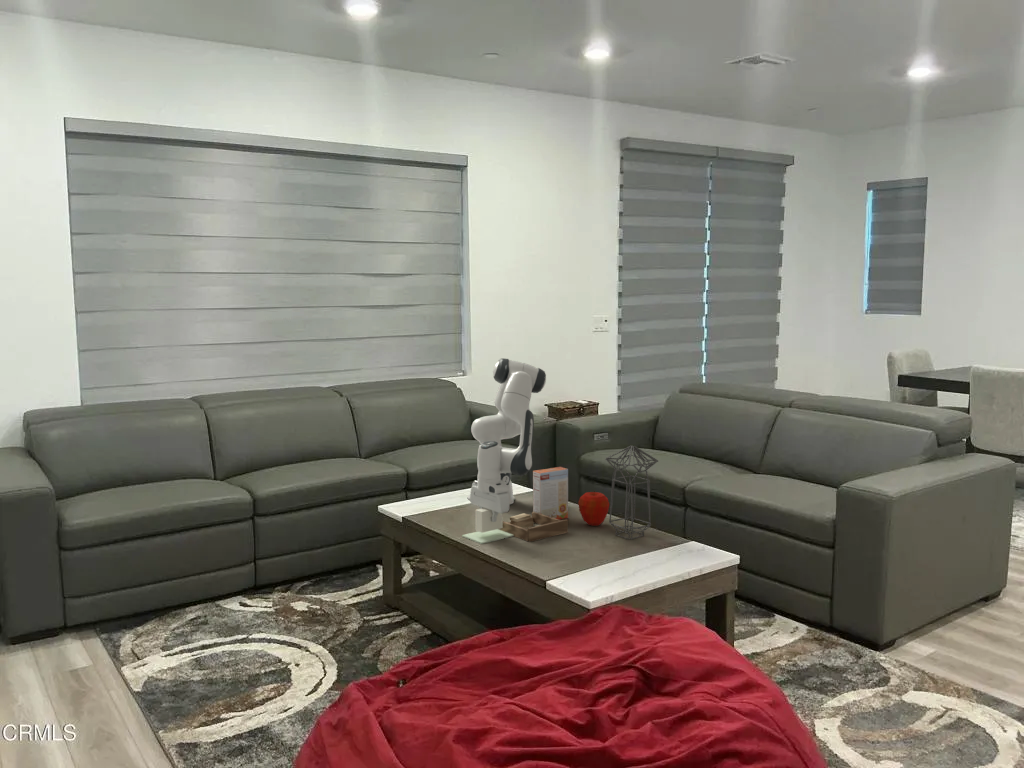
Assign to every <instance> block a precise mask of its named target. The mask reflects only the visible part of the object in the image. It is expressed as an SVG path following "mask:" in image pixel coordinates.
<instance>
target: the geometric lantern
mask: <svg viewBox="0 0 1024 768" xmlns="http://www.w3.org/2000/svg"><path fill="white" fill-rule="evenodd" d="M620 453H621V454H620ZM628 453H629V454H628ZM619 454H620V455H619ZM616 455H618V457H615V456H616ZM631 457H633V458H631ZM647 457H648V458H647ZM625 458H626V459H625ZM631 459H632V461H633V463H632V464H631ZM639 459H640V460H639ZM619 460H620V461H619ZM605 461H607V462H608V464H609V465H610V466H611V467H612V469H614V471H613V473H612V478H611V491H610V492H611V493H610V505H609V508H610V509H609V519H608V523H609V525H611V526H612V527H613V528H614V529H615V536H617V537H621V538H622V539H623V538H624V539H626V540H634V539H638V538H641V537H644V536H645V535H644V534H645V533H644V532H645V531H646V530H647V529H649V528H650V527H651V526H652V523H651V522H652V521H651V480H650V479H649V474H648V470H649V469H650V468H652V467H653V466H654V465H655V464H657V463H659V460H658V459H657V458H655V457H653V456H652V455H650V454H648V453H646V452H645V451H644V450H642V449H640V448H639V447H637V446H636V445H629V446H627V447H625V448H623V449H622V450H619V451H618V452H615V453H613V454H611V455H610V456H608V457H606V458H605ZM635 461H636V462H637V463H635ZM641 461H642V462H641ZM620 466H621V467H620ZM637 466H638V467H639V468H638V467H637ZM627 467H634V469H635V470H637V472H636V473H635V475H631V474H630V473H629V471H628V470H627V469H626V468H627ZM643 467H644V468H645V469H644V470H642V468H643ZM623 470H625V471H626V473H627V474H628V475H624V473H623ZM617 471H619V472H620V474H621V476H619V477H616V476H617ZM644 472H645V474H646V478H643V477H641V476H637V475H638V474H639V473H640V474H642V473H644ZM626 478H629V479H628V480H629V481H628V480H627V479H626ZM637 478H638V479H641V480H646V481H643V482H636V479H637ZM618 479H624V481H625V482H624V481H621V480H618ZM615 482H618V483H621V484H625V487H626V489H625V508H624V509H625V510H624V511H625V512H624V517H621V518H617V519H612V511H613V505H614V503H613V502H614V494H615V493H614V492H615ZM632 482H633V483H632ZM645 483H646V485H647V486H646V487H647V489H646V491H647V508H648V521H647V520H646V521H645V520H643V519H639V518H636V485H641V484H645ZM630 508H631V509H630ZM630 511H631V515H630V516H629V512H630ZM629 519H631V520H630V521H631V524H629ZM621 520H624V526H622V525H618V524H616V523H614V522H618V521H621ZM634 521H639V522H642V523H643V524H644V523H645V524H647V525H641V526H634ZM617 527H618V528H617ZM621 529H623V530H621ZM636 529H638V530H639V531H636ZM622 533H624V534H628V537H625V536H623V535H620V534H622ZM634 534H639V535H638V536H635V537H633V535H634ZM630 535H631V537H630Z"/></svg>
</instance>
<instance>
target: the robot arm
mask: <svg viewBox="0 0 1024 768" xmlns="http://www.w3.org/2000/svg"><path fill="white" fill-rule="evenodd" d="M492 373H493V374H492V376H493V379H494V380H495V382H497V383H499V387H498V390H497V392H496V395H495V397H494V398H493V399H494V401H493V404H494V406H495V407H496V409H497V410H498V412H497V414H494V415H493V414H492V415H486V416H485V415H484V416H481V417H479V418H476V419H474V421H473V422H472V424H471V428H470V431H471V434H472V436H473V438H474V439H475V440H476V441H477V442H479V445H478V449H477V459H476V461H477V465H476V466H477V470H478V472H477V475H476V476H477V480H474V481H473V482H472V484H471V488H470V493H469V495H467V496H466V498H467V500H469V502H470V504H471V505H473V506H477V507H479V509H482V508H486V509H489V510H492V513H493V515H492V517H491V521H492V522H496V520H497V515H498V513H501V514H502V513H503V514H506V513H508V512H510V505H512V504H514V500H515V499H516V498H515V496H514V493H513V492H514V491H513V490H514V489H513V482H512V481H511V480H512V475H516V476H521V477H522V476H525V475H526V474H527V473H529V472H530V470H531V469H532V467H533V441H534V440H533V439H534V428H535V427H534V426H535V417H534V414H533V412H532V411H531V409H530V403H531V398H532V394H539V393H540V392H541V391H543V388H545V385H546V383H547V374H546V371H544V370H543V369H542V368H540V367H535V366H533V365H532V364H528V363H526V362H520V361H518V360H517V361H516V360H512V359H509V358H499V359H498V361H496V363H495V365H494V366H493V371H492ZM519 435H520V436H519ZM517 436H519V444H518V445H519V446H518V447H517V448H514V447H513V448H511V447H506V446H505V447H504V446H502V440H507V439H512V438H514V437H515V438H516V437H517Z"/></svg>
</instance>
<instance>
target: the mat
mask: <svg viewBox="0 0 1024 768" xmlns="http://www.w3.org/2000/svg"><path fill="white" fill-rule="evenodd" d="M461 537H462V538H465V539H467V540H469V539H470V541H471V542H475V543H477V544H480V545H484V544H487V543H491V542H495V541H500V540H504V538H505V539H508V538H512V537H514V535H513V534H510V533H507V532H505V531H502V530H499V529H496V530H491V531H487V532H483V533H481V532H479V531H475V532H469V533H466V534H462V535H461Z"/></svg>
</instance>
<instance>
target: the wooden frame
mask: <svg viewBox="0 0 1024 768" xmlns="http://www.w3.org/2000/svg"><path fill="white" fill-rule="evenodd" d="M531 517H533V524H538V525H536V526H533V527H529V528H526V529H525V528H522V527H519V526H516V525H513V524H511V521H508V522H507V521H505V520H503V528H500V529H499V530H502V531H505V532H507V533H510V534H513V535H514V536H513V537H514V538H517V539H520V540H523V541H526V542H529V543H530V542H535V541H540V540H543V539H547V538H551V537H555V536H559V535H563V534H567V533H568V532H569V520H568V519H567V518H566V519H560V520H559V519H555V518H552V517H549V516H546V515H543V514H540V513H537V512H533V511H532V512H531Z"/></svg>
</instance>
